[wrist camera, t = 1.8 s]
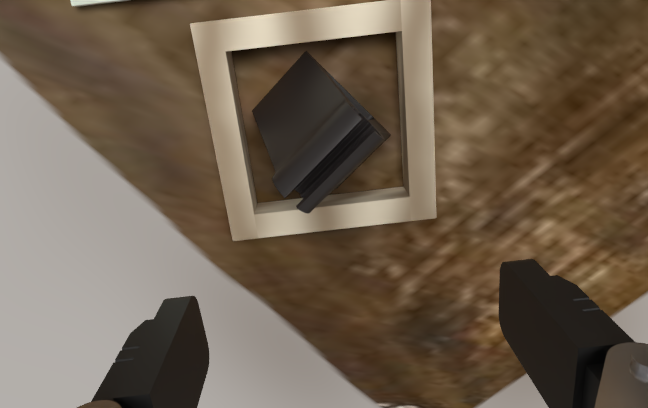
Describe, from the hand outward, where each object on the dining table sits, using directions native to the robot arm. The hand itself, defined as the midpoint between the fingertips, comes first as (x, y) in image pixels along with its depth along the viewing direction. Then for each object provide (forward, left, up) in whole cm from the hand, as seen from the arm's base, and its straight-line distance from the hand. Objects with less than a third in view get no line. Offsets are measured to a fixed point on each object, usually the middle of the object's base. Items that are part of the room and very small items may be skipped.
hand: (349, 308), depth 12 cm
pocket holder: (0, 0, -26) cm, 26 cm away
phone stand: (0, 0, -26) cm, 26 cm away
